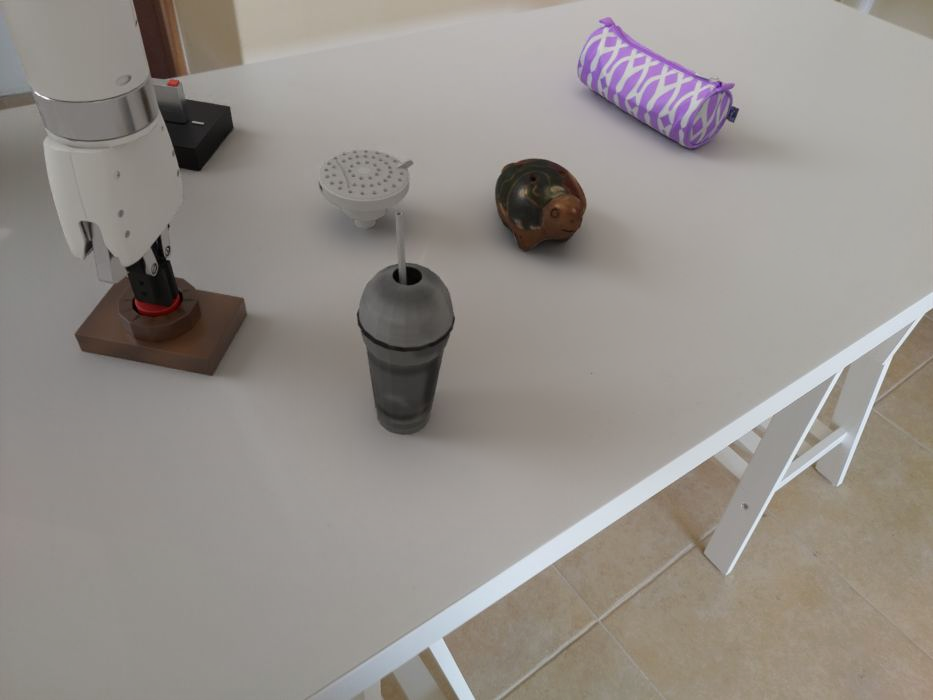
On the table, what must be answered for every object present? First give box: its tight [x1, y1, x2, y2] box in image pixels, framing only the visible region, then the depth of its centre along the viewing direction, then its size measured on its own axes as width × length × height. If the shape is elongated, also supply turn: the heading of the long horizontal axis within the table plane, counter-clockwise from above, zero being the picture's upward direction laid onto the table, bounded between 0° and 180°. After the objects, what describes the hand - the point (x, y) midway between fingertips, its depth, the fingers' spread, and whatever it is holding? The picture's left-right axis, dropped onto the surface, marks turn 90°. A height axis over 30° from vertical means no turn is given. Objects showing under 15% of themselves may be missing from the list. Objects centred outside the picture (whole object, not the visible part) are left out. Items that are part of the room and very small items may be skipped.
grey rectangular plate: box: [151, 77, 189, 123], centre depth 85 cm, size 6×1×5 cm, turn 83°
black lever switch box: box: [164, 98, 235, 172], centre depth 87 cm, size 12×10×3 cm
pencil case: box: [576, 16, 740, 150], centre depth 99 cm, size 22×9×10 cm, turn 42°
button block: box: [74, 276, 248, 377], centre depth 66 cm, size 12×8×4 cm, turn 80°
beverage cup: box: [356, 211, 456, 435], centre depth 56 cm, size 7×7×20 cm
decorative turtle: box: [494, 157, 588, 252], centre depth 80 cm, size 10×15×8 cm, turn 27°
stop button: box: [135, 294, 181, 317], centre depth 65 cm, size 4×4×2 cm
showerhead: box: [317, 149, 414, 230], centre depth 78 cm, size 9×7×10 cm
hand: (158, 298), depth 64 cm, fingers closed
